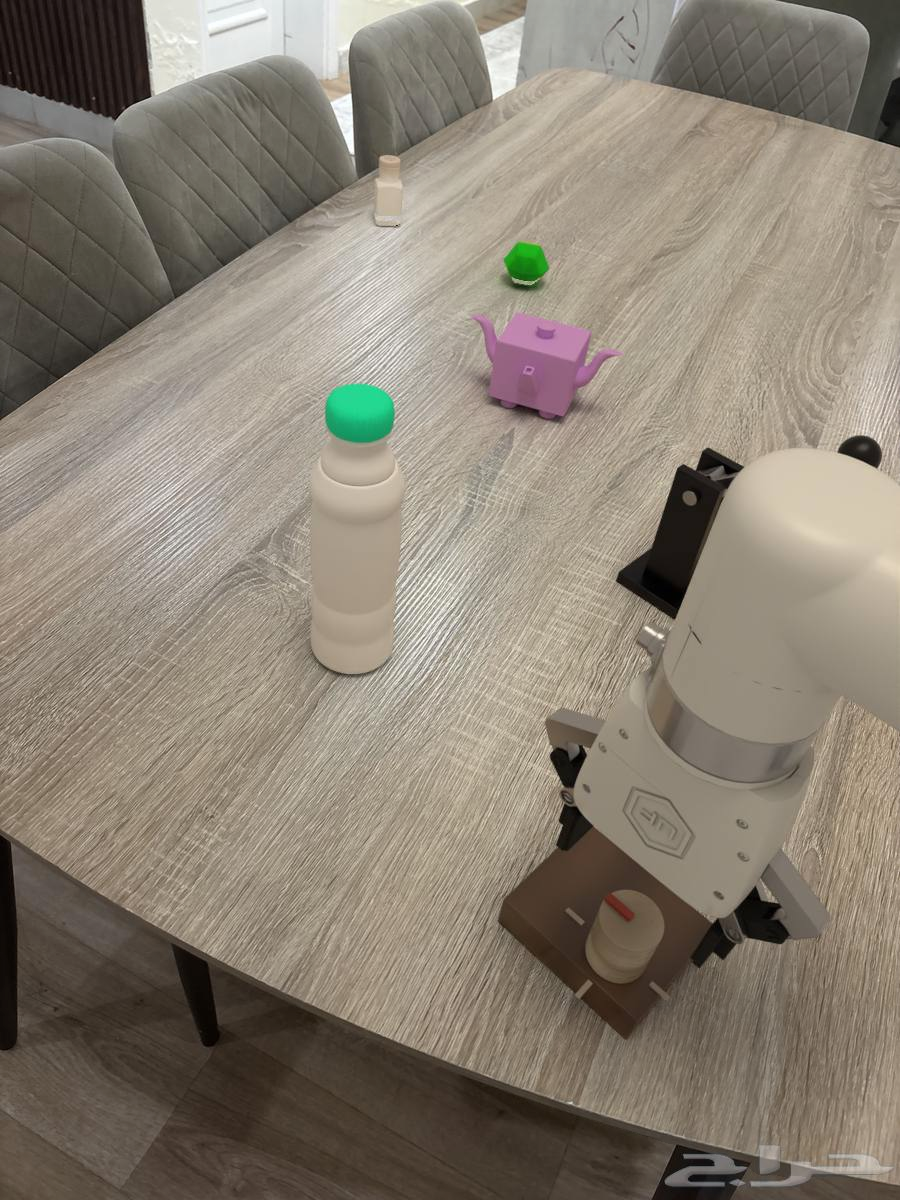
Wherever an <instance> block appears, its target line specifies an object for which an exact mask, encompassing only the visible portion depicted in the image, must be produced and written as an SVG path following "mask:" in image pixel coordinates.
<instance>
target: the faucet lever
mask: <svg viewBox="0 0 900 1200" xmlns="http://www.w3.org/2000/svg"><path fill="white" fill-rule="evenodd" d="M836 452H837V453H840V454H843V455H847V456H850V457H852V458H855V459H858V460H860V461H863V462H865V463H867V464H869V465H871V466H873V467H875V468H876V469H878V468H879V467H880V465H881V462H882V460H883V450H882V447H881V446H880V443H878V441H877V440H875V439H874V438H873V437H870V436H868V435H862V434H859V435H858V434H857V435H853V436H851V437H848V438H846V439H845V440H844V441H843V442H842V443H841V444H840V445H839V448H838V449H837V451H836ZM697 472H699V473H701V474H703V475H704V476H706V477H708V478H710V479H712V480H713V481H715V482H717V483H719V484H720V485H722V486H724V487H725V488H726V489H725V491H724V494H723V497H724V496H725V494H726V492H727V490H728V488H729V486H730V484H731V482H732V481H733V480H734V478H735V477H736V476H737V475H738V473H739V472H737V473H732V474H726V472H725V470H724V467H723V466H719V467H714V468H709V469H705V470H700V471H697Z"/></svg>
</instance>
